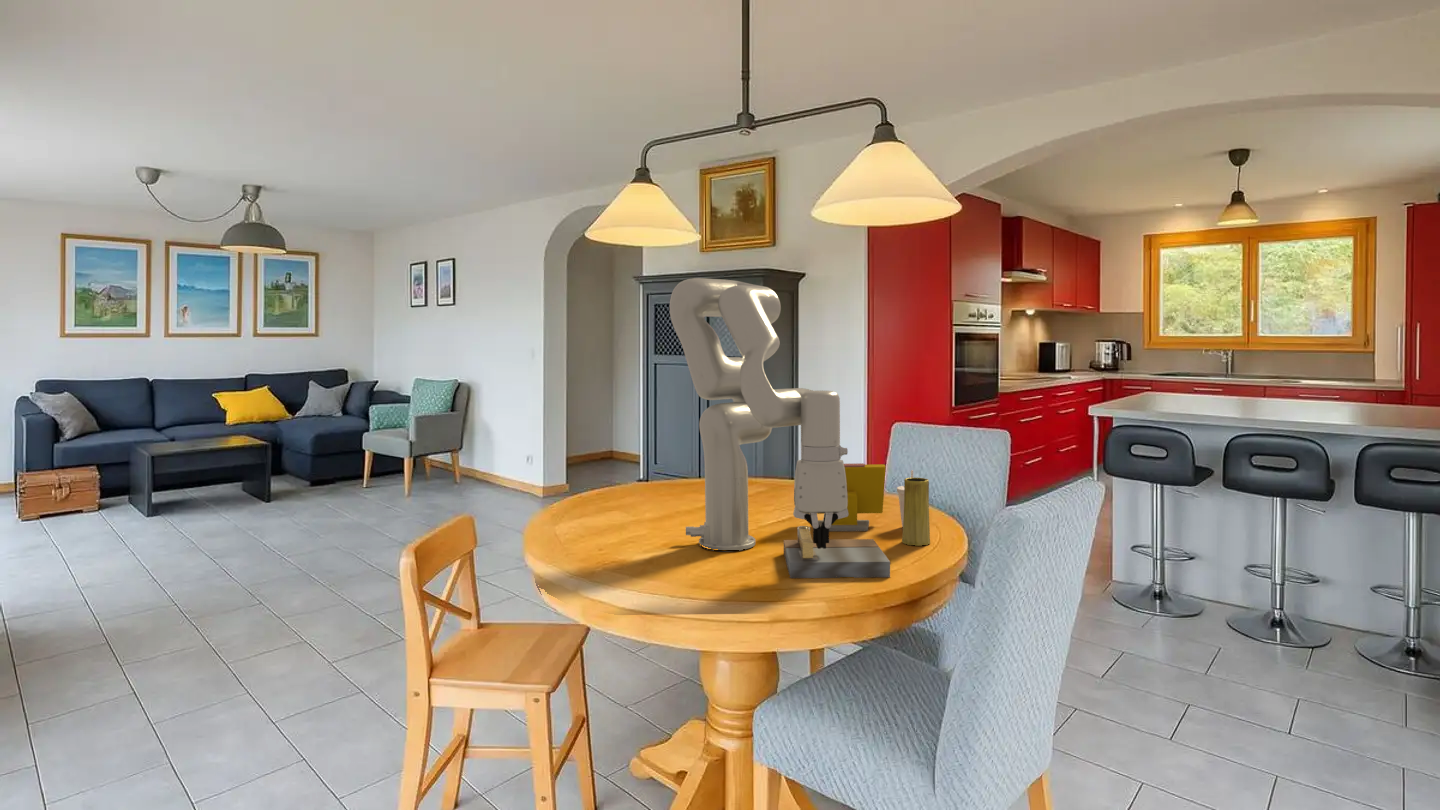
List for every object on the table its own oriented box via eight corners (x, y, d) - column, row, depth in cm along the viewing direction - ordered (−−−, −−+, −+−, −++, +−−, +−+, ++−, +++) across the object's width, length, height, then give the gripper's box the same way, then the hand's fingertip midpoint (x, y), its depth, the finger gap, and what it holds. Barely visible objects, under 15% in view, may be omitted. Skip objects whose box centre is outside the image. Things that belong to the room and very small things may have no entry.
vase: (931, 547, 168) (931, 482, 167) (902, 545, 169) (902, 481, 168) (929, 539, 174) (929, 477, 173) (901, 538, 175) (901, 476, 174)
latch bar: (797, 540, 162) (797, 525, 162) (809, 540, 162) (809, 525, 162) (801, 558, 148) (801, 542, 148) (814, 558, 148) (814, 542, 148)
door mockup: (790, 578, 147) (790, 562, 147) (783, 553, 164) (783, 539, 164) (890, 577, 147) (890, 561, 146) (873, 553, 164) (873, 538, 163)
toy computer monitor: (881, 523, 190) (881, 460, 189) (887, 531, 182) (887, 465, 181) (800, 524, 191) (800, 461, 190) (802, 531, 183) (802, 466, 182)
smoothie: (908, 532, 181) (909, 473, 180) (890, 526, 187) (891, 469, 186) (929, 528, 184) (930, 470, 183) (911, 523, 190) (911, 467, 189)
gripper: (855, 451, 154) (855, 541, 155) (780, 452, 154) (781, 542, 155) (862, 456, 146) (862, 551, 148) (783, 457, 146) (784, 552, 148)
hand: (820, 546), depth 151 cm, fingers closed
